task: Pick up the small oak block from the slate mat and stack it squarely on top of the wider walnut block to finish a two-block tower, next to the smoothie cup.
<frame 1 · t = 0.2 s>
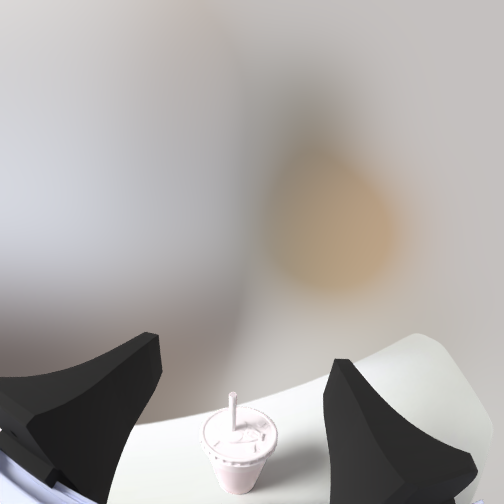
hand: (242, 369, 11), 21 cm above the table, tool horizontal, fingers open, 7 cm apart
smoothie: (236, 481, 22), on the table
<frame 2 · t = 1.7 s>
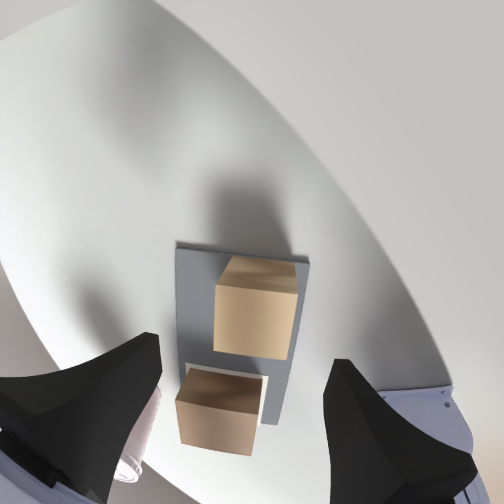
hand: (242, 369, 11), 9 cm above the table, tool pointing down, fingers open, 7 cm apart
oak block: (260, 287, 19), resting on slate mat
walnut block: (224, 398, 22), resting on slate mat
slate mat: (234, 352, 21), on the table
smoothie: (145, 389, 24), on the table
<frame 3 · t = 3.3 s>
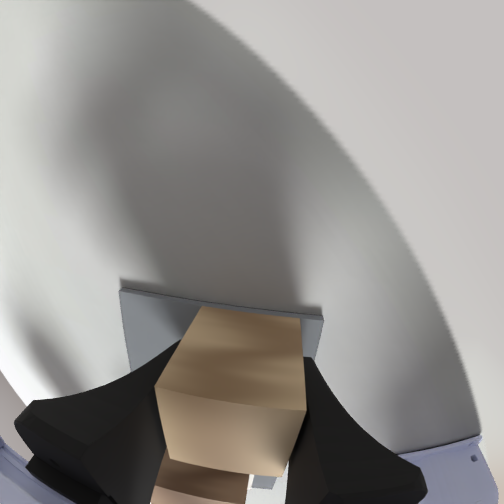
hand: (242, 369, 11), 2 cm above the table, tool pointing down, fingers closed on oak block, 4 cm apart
oak block: (246, 352, 12), resting on slate mat, touching gripper
walnut block: (205, 465, 15), resting on slate mat
slate mat: (213, 422, 14), on the table
when the fingers open (7 cm above the table, at t = 6.7 s): oak block stays where it is, resting on walnut block.
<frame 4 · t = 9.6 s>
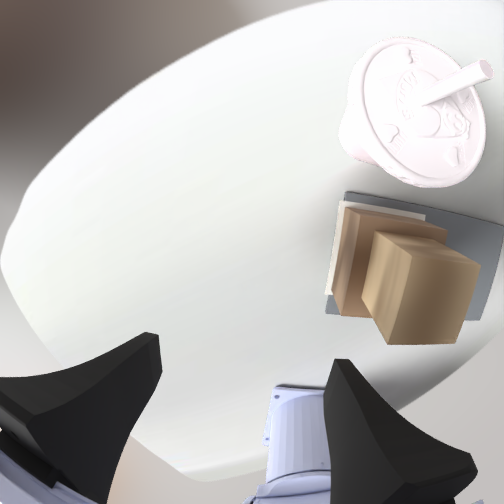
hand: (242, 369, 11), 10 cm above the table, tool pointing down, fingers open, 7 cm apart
oak block: (398, 268, 15), point 4 cm above the table, touching walnut block
walnut block: (377, 254, 19), resting on slate mat, touching oak block
slate mat: (429, 266, 19), on the table
smoothie: (363, 136, 17), on the table
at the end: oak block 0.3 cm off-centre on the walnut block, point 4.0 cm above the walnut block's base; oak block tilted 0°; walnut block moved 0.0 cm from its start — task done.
